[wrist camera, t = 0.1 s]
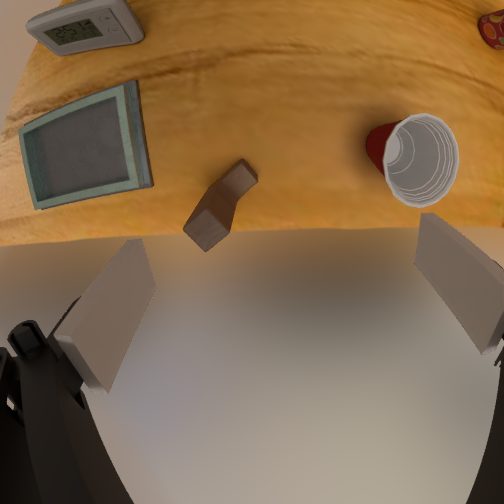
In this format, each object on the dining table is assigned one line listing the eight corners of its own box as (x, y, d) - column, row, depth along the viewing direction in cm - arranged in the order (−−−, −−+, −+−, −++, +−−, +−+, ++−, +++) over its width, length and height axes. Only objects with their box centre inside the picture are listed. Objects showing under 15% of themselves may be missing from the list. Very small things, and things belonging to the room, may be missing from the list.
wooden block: (223, 205, 41) (205, 253, 27) (207, 188, 40) (181, 229, 26) (258, 175, 39) (258, 211, 25) (242, 158, 38) (233, 183, 24)
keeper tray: (27, 124, 34) (14, 126, 31) (138, 80, 32) (127, 77, 29) (44, 208, 41) (33, 215, 38) (154, 185, 40) (145, 191, 36)
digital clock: (56, 56, 29) (13, 52, 20) (74, 8, 25) (35, -6, 16) (137, 62, 31) (101, 50, 22) (158, 8, 27) (129, -18, 18)
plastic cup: (383, 197, 39) (421, 228, 29) (334, 147, 36) (363, 161, 26) (427, 148, 35) (475, 165, 25) (382, 95, 32) (425, 92, 22)
